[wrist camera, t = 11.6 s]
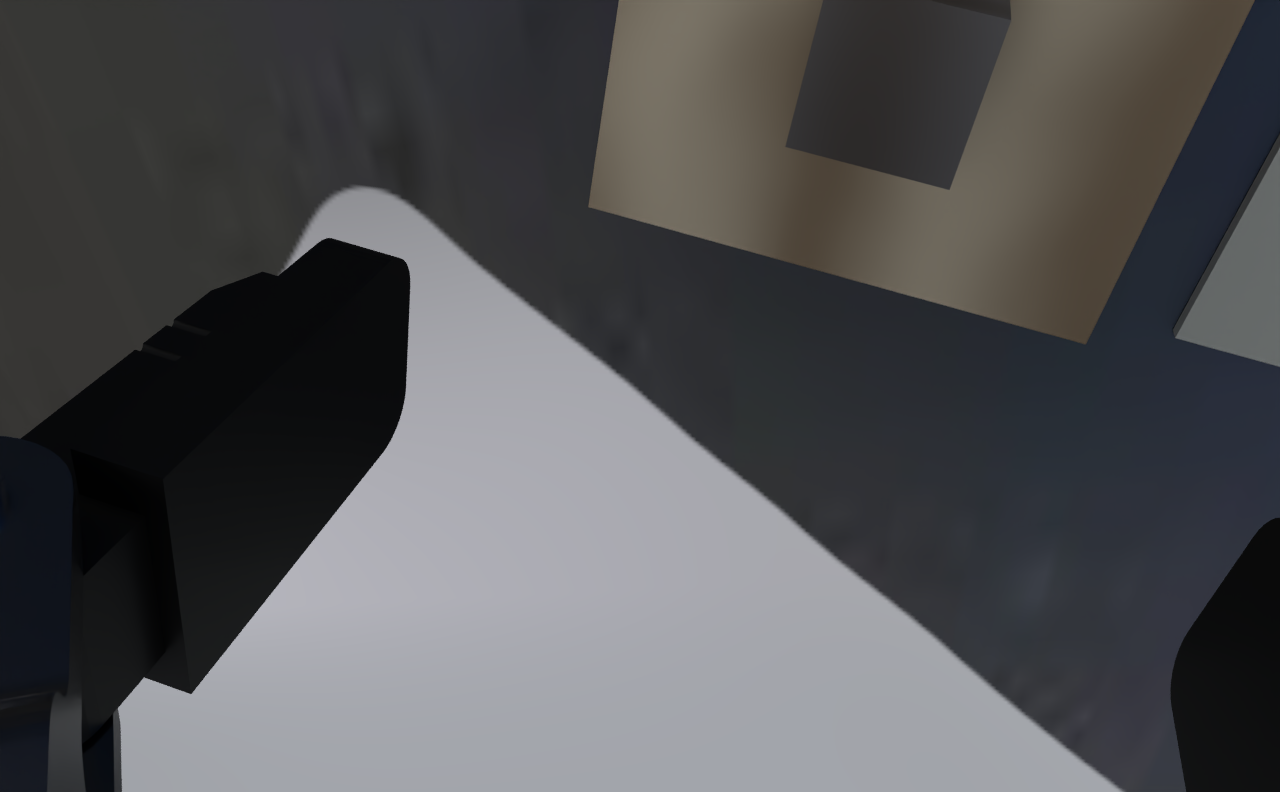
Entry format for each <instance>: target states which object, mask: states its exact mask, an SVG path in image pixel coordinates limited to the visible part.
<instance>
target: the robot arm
mask: <svg viewBox="0 0 1280 792" xmlns="http://www.w3.org/2000/svg"><path fill="white" fill-rule="evenodd" d="M409 301H410V273H409V269H408V266H407V264H406V262H405V261H404V260H403V259H400V258H397V257H394V256H391V255H387V254H384V253H380V252H377V251H373V250H370V249H366V248H363V247H360V246H356V245H352V244H349V243H346V242H342V241H339V240H336V239H332V238H327V239H324V240H322V241H321V242H319V243H318V244H316V245H315V246H314V247H313V248H311V249H310V250H309V251H308V252H307V253H305V254H304V255H303V256H302V257H301V258H299V259H298V260H297V261H296V262H295V263H293V264H292V265H291V266H290V267H288V268H287V269H286V270H285V271H284V272H282V273H281V274H280V275H279V276H275V275H272V274H269V273H265V272H261V273H258V274H255V275H253V276H250V277H247V278H244V279H242V280H239V281H236V282H234V283H231V284H228V285H225V286H223V287H220V288H217V289H214V290H212V291H210V292H209V293H208V294H206V295H205V296H204V297H202V298H201V299H200V300H199V301H197V302H196V303H195V304H193V305H192V306H191V307H190V308H188V309H187V310H186V311H184V312H183V313H182V314H181V315H179V316H178V317H177V318H175V319H174V323H173V325H172V327H170V326H167V325H166V326H165V327H164V328H162V329H161V330H160V331H159V332H157V333H156V334H155V335H153V336H152V337H151V338H150V339H148V340H147V341H146V342H144V343H143V348H142V350H141V351H138V350H134V351H133V352H132V353H130V354H129V355H128V356H126V357H125V358H124V359H123V360H121V361H120V362H119V363H117V364H116V365H115V366H114V367H112V368H111V369H110V370H108V371H107V372H106V373H105V374H103V375H102V376H101V377H99V378H98V379H97V380H96V381H94V382H93V383H92V384H90V385H89V386H88V387H87V388H85V389H84V390H83V391H81V392H80V393H79V394H78V395H76V396H75V397H74V398H72V399H71V400H70V401H69V402H67V403H66V404H65V405H63V406H62V407H61V408H60V409H58V410H57V411H56V412H54V413H53V414H52V415H51V416H49V417H48V418H47V419H45V420H44V421H43V422H42V423H40V424H39V425H38V426H36V427H35V428H34V429H33V430H31V431H30V432H29V433H27V434H26V435H25V436H24V437H22V438H21V439H18V438H12V437H6V436H0V792H122V779H121V734H120V733H121V731H120V719H119V713H118V707H119V706H120V705H121V704H122V702H123V701H124V700H125V699H126V698H127V697H128V695H129V694H130V693H131V692H132V691H133V689H134V688H135V687H136V686H137V685H138V684H139V683H140V681H141V680H142V679H143V678H144V677H145V678H148V679H150V680H153V681H156V682H159V683H161V684H164V685H167V686H170V687H173V688H176V689H178V690H181V691H184V692H187V693H190V694H192V692H193V691H194V690H195V689H196V687H197V686H198V685H199V684H200V682H201V681H202V680H203V678H204V677H205V676H206V675H207V674H208V672H209V671H210V669H211V668H212V667H213V666H214V665H215V663H216V662H217V661H218V660H219V658H220V657H221V656H222V655H223V653H224V652H225V651H226V650H227V648H228V647H229V646H230V645H231V643H232V642H233V641H234V639H235V638H236V637H237V636H238V634H239V633H240V632H241V631H242V629H243V628H244V627H245V626H246V624H247V623H248V622H249V620H250V619H251V618H252V617H253V616H254V614H255V613H256V612H257V611H258V609H259V608H260V607H261V605H262V604H263V603H264V602H265V600H266V599H267V598H268V597H269V595H270V594H271V593H272V592H273V590H274V589H275V588H276V587H277V585H278V584H279V583H280V582H281V580H282V579H283V578H284V576H285V575H286V574H287V573H288V571H289V570H290V569H291V568H292V566H293V565H294V564H295V563H296V561H297V560H298V559H299V558H300V556H301V555H302V554H303V553H304V551H305V550H306V549H307V548H308V546H309V545H310V544H311V542H312V541H313V540H314V539H315V537H316V536H317V535H318V534H319V532H320V531H321V530H322V528H323V527H324V526H325V525H326V524H327V522H328V521H329V520H330V518H331V517H332V516H333V515H334V513H335V512H336V511H337V510H338V508H339V507H340V506H341V505H342V503H343V502H344V501H345V500H346V498H347V497H348V496H349V495H350V493H351V492H352V491H353V490H354V488H355V487H356V486H357V485H358V483H359V482H360V481H361V479H362V478H363V477H364V476H365V474H366V473H367V472H368V471H369V469H370V468H371V467H372V466H373V464H374V463H375V462H376V460H377V459H378V458H379V457H380V456H381V454H382V453H383V452H384V450H385V449H386V447H387V446H388V444H389V442H390V440H391V438H392V436H393V434H394V432H395V429H396V427H397V425H398V422H399V419H400V416H401V413H402V409H403V404H404V399H405V392H406V372H407V349H408V324H409ZM1171 705H1172V711H1173V717H1174V723H1175V729H1176V735H1177V740H1178V746H1179V752H1180V758H1181V763H1182V769H1183V775H1184V781H1185V787H1186V792H1280V518H1275V519H1273V520H1270V521H1269V522H1267V523H1266V524H1265V525H1263V526H1262V527H1261V528H1260V529H1259V530H1258V532H1257V533H1256V534H1255V536H1254V537H1253V538H1252V540H1251V541H1250V543H1249V544H1248V546H1247V547H1246V548H1245V550H1244V551H1243V553H1242V554H1241V556H1240V557H1239V559H1238V560H1237V561H1236V563H1235V564H1234V566H1233V567H1232V569H1231V570H1230V572H1229V573H1228V575H1227V576H1226V577H1225V579H1224V580H1223V582H1222V583H1221V585H1220V586H1219V588H1218V589H1217V590H1216V592H1215V593H1214V595H1213V596H1212V598H1211V599H1210V601H1209V602H1208V603H1207V605H1206V606H1205V608H1204V609H1203V611H1202V612H1201V614H1200V615H1199V617H1198V618H1197V619H1196V621H1195V622H1194V624H1193V625H1192V627H1191V628H1190V630H1189V631H1188V633H1187V634H1186V636H1185V638H1184V640H1183V642H1182V644H1181V646H1180V648H1179V651H1178V654H1177V657H1176V660H1175V664H1174V668H1173V673H1172V679H1171Z"/></svg>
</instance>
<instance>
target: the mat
mask: <svg viewBox="0 0 1280 792" xmlns="http://www.w3.org/2000/svg"><path fill="white" fill-rule="evenodd" d="M1173 332H1174V336H1175V338H1177V339H1181V340H1184V341H1188V342H1192V343H1195V344H1199V345H1203V346H1206V347H1210V348H1214V349H1217V350H1221V351H1225V352H1228V353H1232V354H1235V355H1239V356H1243V357H1246V358H1250V359H1254V360H1257V361H1261V362H1265V363H1268V364H1272V365H1276V366H1279V367H1280V134H1279V136H1278V138H1277V140H1276V142H1275V143H1274V145H1273V147H1272V149H1271V151H1270V153H1269V154H1268V156H1267V158H1266V160H1265V162H1264V164H1263V165H1262V167H1261V169H1260V171H1259V173H1258V175H1257V176H1256V178H1255V180H1254V182H1253V184H1252V186H1251V187H1250V189H1249V191H1248V193H1247V195H1246V197H1245V198H1244V200H1243V202H1242V204H1241V206H1240V208H1239V209H1238V211H1237V213H1236V215H1235V217H1234V219H1233V220H1232V222H1231V224H1230V226H1229V228H1228V230H1227V231H1226V233H1225V235H1224V237H1223V239H1222V241H1221V242H1220V244H1219V246H1218V248H1217V250H1216V252H1215V253H1214V255H1213V257H1212V259H1211V261H1210V263H1209V264H1208V266H1207V268H1206V270H1205V272H1204V274H1203V275H1202V277H1201V279H1200V281H1199V283H1198V285H1197V286H1196V288H1195V290H1194V292H1193V294H1192V296H1191V297H1190V299H1189V301H1188V303H1187V305H1186V307H1185V308H1184V310H1183V312H1182V314H1181V316H1180V318H1179V319H1178V321H1177V323H1176V325H1175V327H1174V329H1173Z"/></svg>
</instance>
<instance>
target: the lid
mask: <svg viewBox="0 0 1280 792" xmlns="http://www.w3.org/2000/svg"><path fill="white" fill-rule="evenodd" d="M1254 1H1255V0H619V4H618V11H617V17H616V24H615V31H614V38H613V44H612V51H611V58H610V65H609V71H608V78H607V85H606V91H605V98H604V105H603V112H602V118H601V125H600V132H599V139H598V145H597V152H596V159H595V165H594V172H593V179H592V186H591V192H590V199H589V206H588V207H591V208H594V209H598V210H601V211H605V212H609V213H612V214H616V215H620V216H623V217H627V218H630V219H634V220H638V221H641V222H645V223H648V224H652V225H656V226H659V227H663V228H667V229H670V230H674V231H677V232H681V233H685V234H688V235H692V236H696V237H699V238H703V239H706V240H710V241H714V242H717V243H721V244H724V245H728V246H732V247H735V248H739V249H743V250H746V251H750V252H753V253H757V254H761V255H764V256H768V257H771V258H775V259H779V260H782V261H786V262H790V263H793V264H797V265H800V266H804V267H808V268H811V269H815V270H819V271H822V272H826V273H829V274H833V275H837V276H840V277H844V278H847V279H851V280H855V281H858V282H862V283H866V284H869V285H873V286H876V287H880V288H884V289H887V290H891V291H894V292H898V293H902V294H905V295H909V296H913V297H916V298H920V299H923V300H927V301H931V302H934V303H938V304H942V305H945V306H949V307H952V308H956V309H960V310H963V311H967V312H970V313H974V314H978V315H981V316H985V317H989V318H992V319H996V320H999V321H1003V322H1007V323H1010V324H1014V325H1017V326H1021V327H1025V328H1028V329H1032V330H1036V331H1039V332H1043V333H1046V334H1050V335H1054V336H1057V337H1061V338H1065V339H1068V340H1072V341H1075V342H1079V343H1083V344H1086V343H1087V341H1088V339H1089V337H1090V335H1091V333H1092V331H1093V329H1094V327H1095V325H1096V323H1097V320H1098V318H1099V316H1100V314H1101V312H1102V310H1103V308H1104V306H1105V304H1106V302H1107V300H1108V298H1109V296H1110V294H1111V292H1112V290H1113V288H1114V286H1115V284H1116V282H1117V280H1118V278H1119V276H1120V274H1121V272H1122V270H1123V268H1124V266H1125V263H1126V261H1127V259H1128V257H1129V255H1130V253H1131V251H1132V249H1133V247H1134V245H1135V243H1136V241H1137V239H1138V237H1139V235H1140V233H1141V231H1142V229H1143V227H1144V225H1145V223H1146V221H1147V219H1148V217H1149V215H1150V213H1151V211H1152V209H1153V206H1154V204H1155V202H1156V200H1157V198H1158V196H1159V194H1160V192H1161V190H1162V188H1163V186H1164V184H1165V182H1166V180H1167V178H1168V176H1169V174H1170V172H1171V170H1172V168H1173V166H1174V164H1175V162H1176V160H1177V158H1178V156H1179V154H1180V152H1181V150H1182V147H1183V145H1184V143H1185V141H1186V139H1187V137H1188V135H1189V133H1190V131H1191V129H1192V127H1193V125H1194V123H1195V121H1196V119H1197V117H1198V115H1199V113H1200V111H1201V109H1202V107H1203V105H1204V103H1205V101H1206V99H1207V97H1208V95H1209V93H1210V90H1211V88H1212V86H1213V84H1214V82H1215V80H1216V78H1217V76H1218V74H1219V72H1220V70H1221V68H1222V66H1223V64H1224V62H1225V60H1226V58H1227V56H1228V54H1229V52H1230V50H1231V48H1232V46H1233V44H1234V42H1235V40H1236V38H1237V36H1238V34H1239V31H1240V29H1241V27H1242V25H1243V23H1244V21H1245V19H1246V17H1247V15H1248V13H1249V11H1250V9H1251V7H1252V5H1253V3H1254Z"/></svg>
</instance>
